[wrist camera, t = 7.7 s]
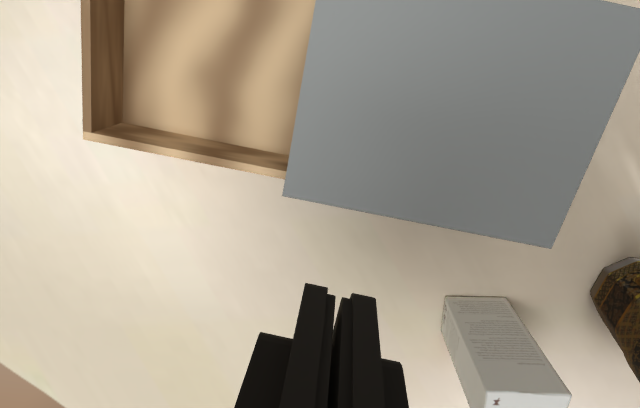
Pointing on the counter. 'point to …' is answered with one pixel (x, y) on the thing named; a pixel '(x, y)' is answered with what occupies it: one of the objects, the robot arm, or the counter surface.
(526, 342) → the skincare box
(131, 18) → the tray
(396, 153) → the sleeve
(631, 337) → the ceramic cup
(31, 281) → the counter surface
